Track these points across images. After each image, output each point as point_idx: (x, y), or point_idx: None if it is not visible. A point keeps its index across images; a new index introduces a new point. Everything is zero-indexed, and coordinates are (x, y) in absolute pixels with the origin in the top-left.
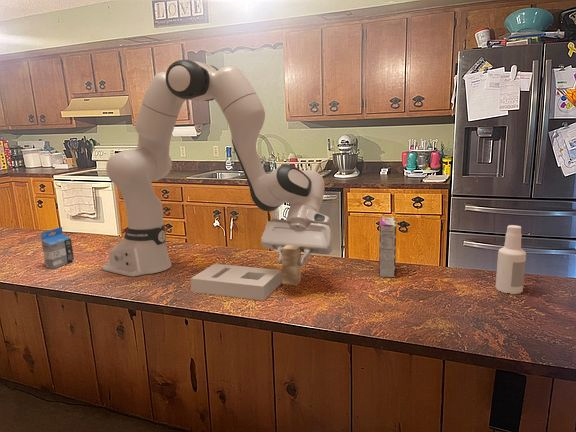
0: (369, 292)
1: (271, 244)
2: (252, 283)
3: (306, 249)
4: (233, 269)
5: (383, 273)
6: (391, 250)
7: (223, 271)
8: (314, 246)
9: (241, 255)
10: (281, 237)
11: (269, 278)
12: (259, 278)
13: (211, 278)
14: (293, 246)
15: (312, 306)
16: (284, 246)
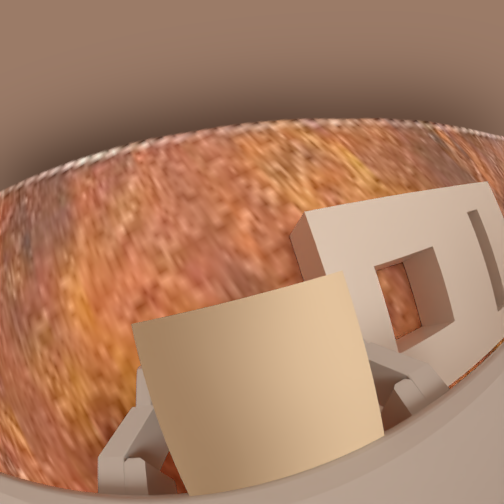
0: (34, 462)
1: (494, 351)
2: (362, 219)
3: (127, 485)
4: (489, 305)
5: None
6: None
7: (497, 291)
8: (39, 494)
9: None
10: (497, 448)
11: None
12: (407, 342)
13: (469, 200)
14: (260, 440)
15: (105, 282)
16: (368, 363)
